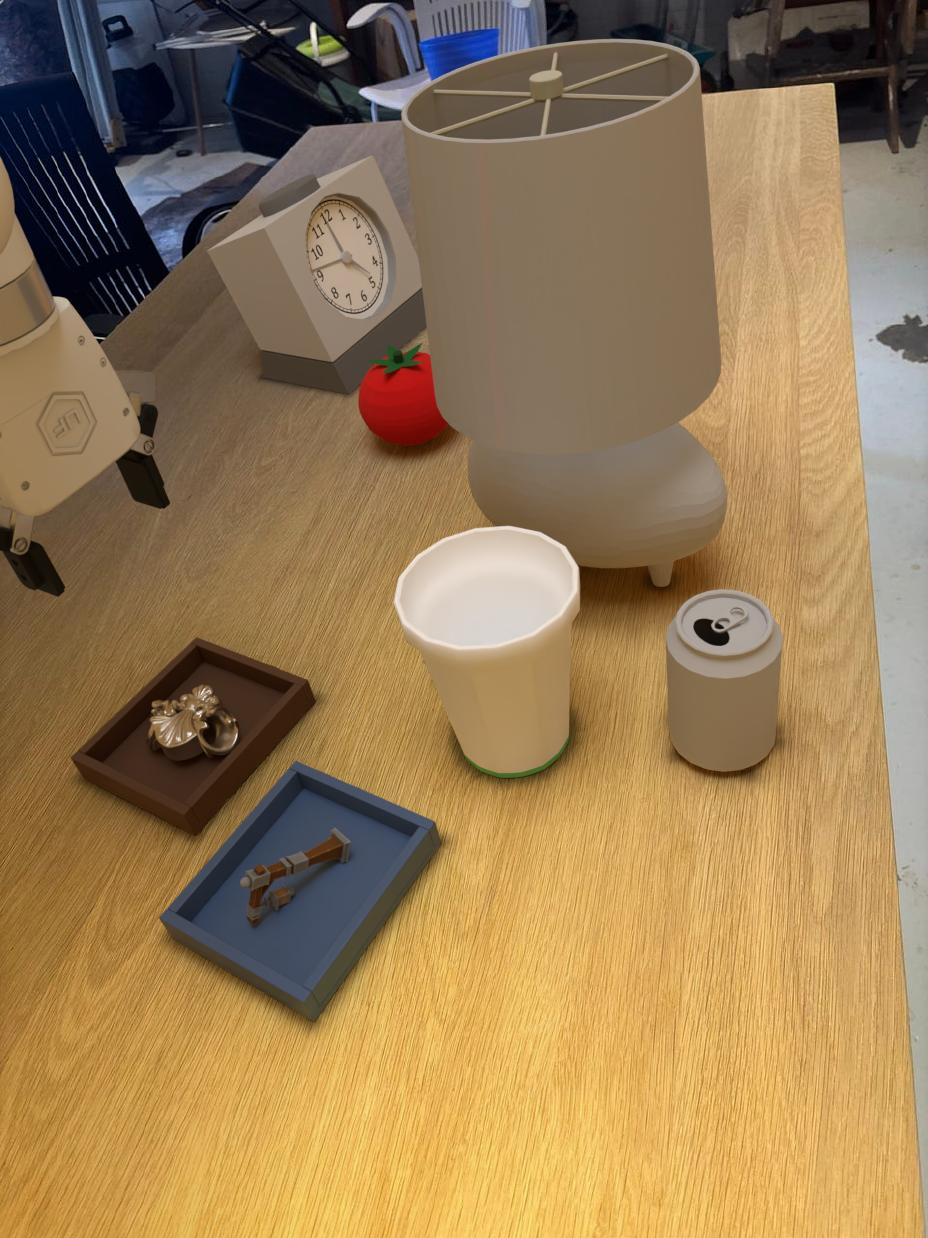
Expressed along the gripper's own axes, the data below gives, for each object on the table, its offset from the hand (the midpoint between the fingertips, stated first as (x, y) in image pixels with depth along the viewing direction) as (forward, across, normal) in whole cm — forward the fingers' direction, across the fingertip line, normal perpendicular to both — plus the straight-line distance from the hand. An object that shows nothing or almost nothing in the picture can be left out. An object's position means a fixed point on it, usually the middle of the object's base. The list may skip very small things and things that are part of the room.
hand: (102, 544), depth 69 cm
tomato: (+20, +43, +8) cm, 48 cm away
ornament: (+20, 0, 0) cm, 20 cm away
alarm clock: (+20, +58, +29) cm, 68 cm away
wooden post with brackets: (+20, -7, -17) cm, 27 cm away
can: (+20, +17, -37) cm, 46 cm away
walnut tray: (+20, 0, 0) cm, 20 cm away
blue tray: (+20, -7, -17) cm, 27 cm away
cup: (+20, +11, -23) cm, 33 cm away
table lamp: (+20, +31, -20) cm, 42 cm away
